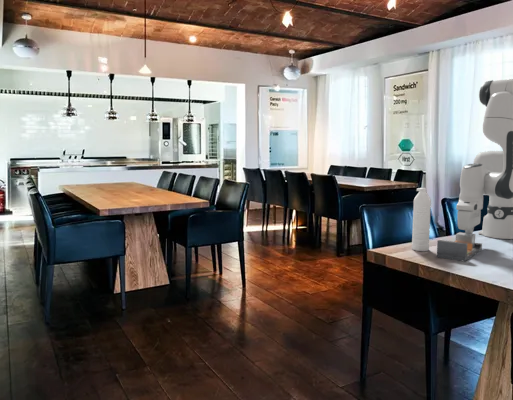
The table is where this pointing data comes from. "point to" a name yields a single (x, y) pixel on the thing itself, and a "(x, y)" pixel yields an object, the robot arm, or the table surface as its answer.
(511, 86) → the robot arm
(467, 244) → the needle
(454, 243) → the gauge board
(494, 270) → the table surface
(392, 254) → the table surface
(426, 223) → the water bottle
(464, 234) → the tan block
